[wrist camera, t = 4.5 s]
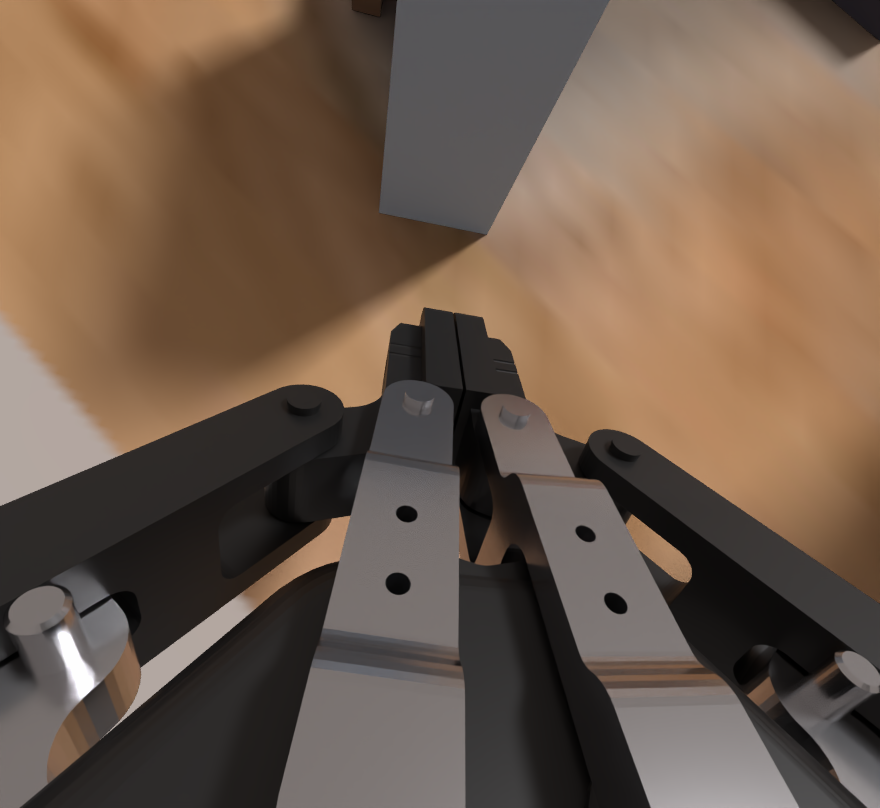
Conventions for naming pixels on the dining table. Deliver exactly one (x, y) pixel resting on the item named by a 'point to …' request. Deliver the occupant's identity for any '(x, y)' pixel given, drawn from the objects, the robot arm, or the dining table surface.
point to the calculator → (863, 13)
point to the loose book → (473, 100)
